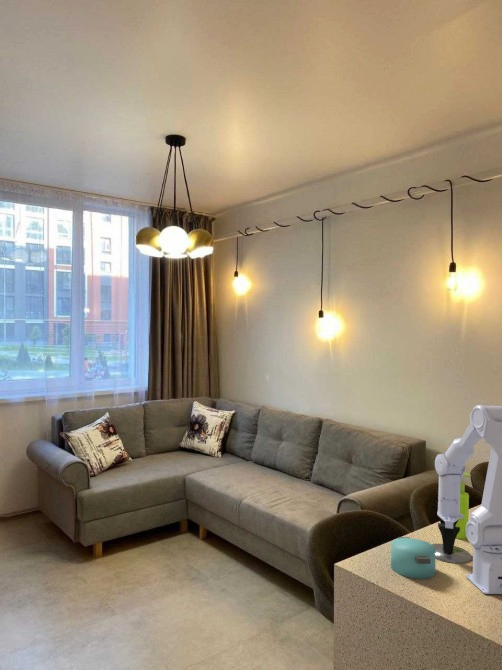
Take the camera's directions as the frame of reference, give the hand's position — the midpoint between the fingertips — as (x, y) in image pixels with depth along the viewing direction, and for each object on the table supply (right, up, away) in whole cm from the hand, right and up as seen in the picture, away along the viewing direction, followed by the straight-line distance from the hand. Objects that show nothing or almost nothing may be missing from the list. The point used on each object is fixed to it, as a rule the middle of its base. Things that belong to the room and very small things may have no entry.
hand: (448, 546), depth 142 cm
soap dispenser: (+9, -3, +14) cm, 17 cm away
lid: (0, -3, 0) cm, 3 cm away
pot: (-13, -2, -11) cm, 17 cm away
